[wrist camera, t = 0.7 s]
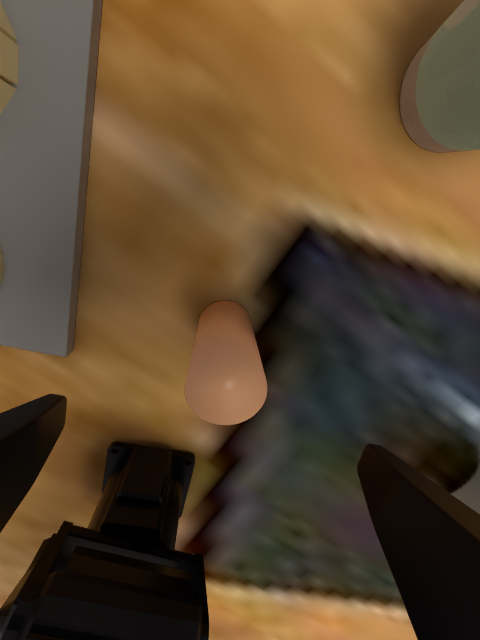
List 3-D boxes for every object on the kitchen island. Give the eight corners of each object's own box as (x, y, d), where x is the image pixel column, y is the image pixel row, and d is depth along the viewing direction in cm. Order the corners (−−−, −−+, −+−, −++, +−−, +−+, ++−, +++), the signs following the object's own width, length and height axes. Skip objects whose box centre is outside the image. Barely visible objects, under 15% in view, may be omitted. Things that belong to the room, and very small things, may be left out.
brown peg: (243, 353, 21) (255, 430, 14) (193, 343, 21) (177, 417, 13) (256, 307, 20) (277, 362, 13) (204, 295, 20) (193, 345, 12)
